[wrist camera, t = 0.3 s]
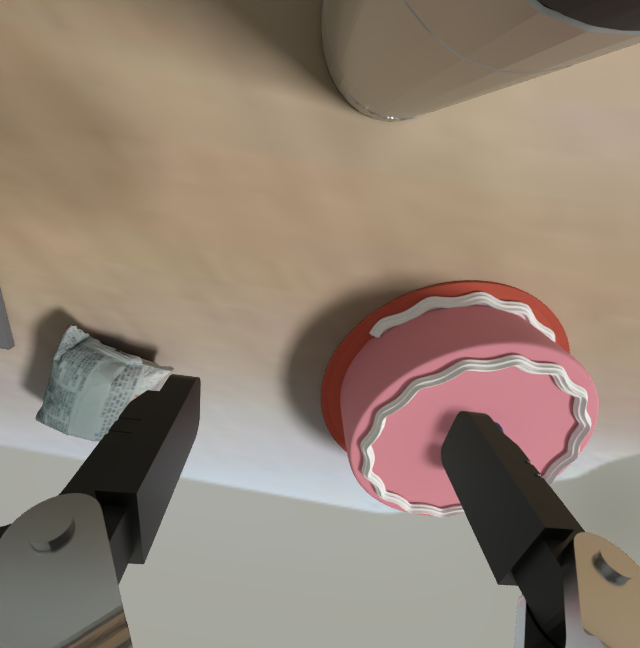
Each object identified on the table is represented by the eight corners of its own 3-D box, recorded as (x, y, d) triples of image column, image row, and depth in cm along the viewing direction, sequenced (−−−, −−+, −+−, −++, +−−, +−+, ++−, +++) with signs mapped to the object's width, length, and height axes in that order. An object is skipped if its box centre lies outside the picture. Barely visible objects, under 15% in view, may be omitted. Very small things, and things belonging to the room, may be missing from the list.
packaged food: (183, 353, 29) (161, 388, 24) (146, 433, 34) (121, 474, 29) (84, 310, 27) (39, 341, 22) (58, 402, 31) (18, 442, 27)
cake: (507, 473, 39) (569, 573, 30) (310, 467, 37) (311, 571, 28) (617, 291, 28) (776, 362, 18) (337, 267, 26) (354, 332, 16)
